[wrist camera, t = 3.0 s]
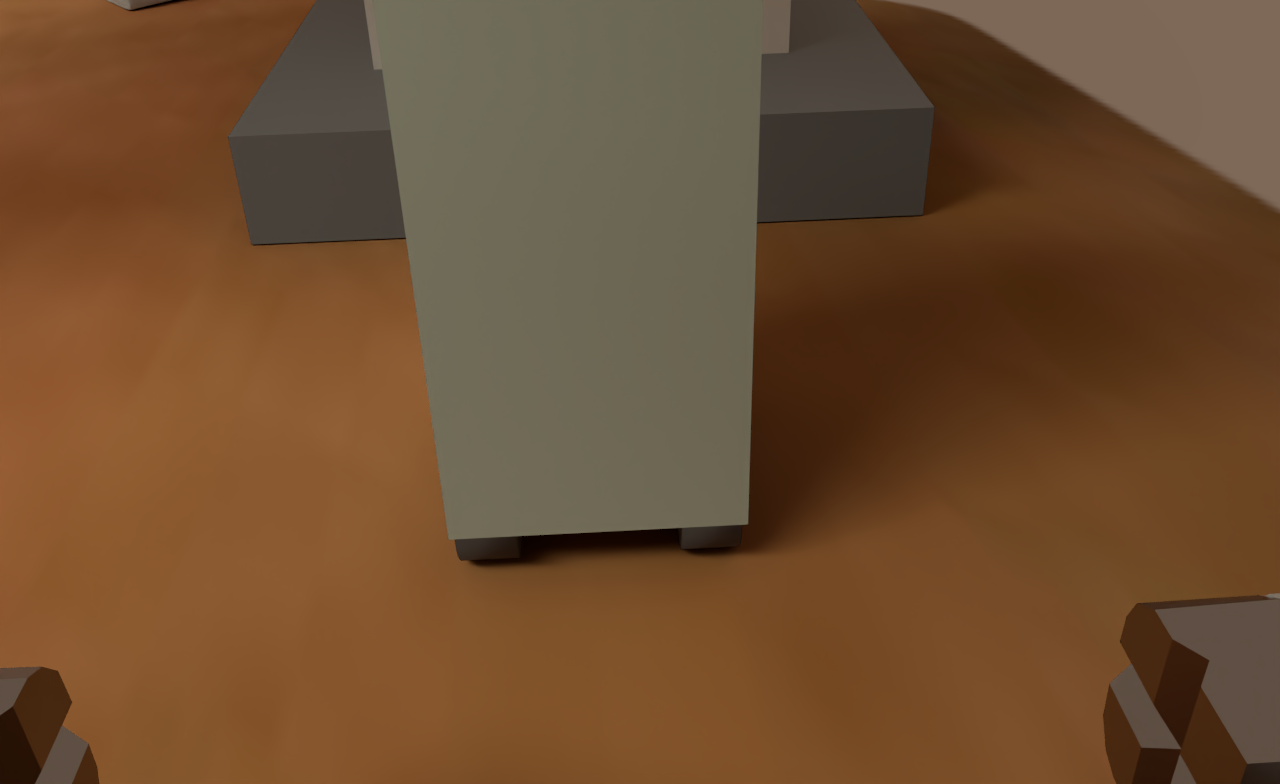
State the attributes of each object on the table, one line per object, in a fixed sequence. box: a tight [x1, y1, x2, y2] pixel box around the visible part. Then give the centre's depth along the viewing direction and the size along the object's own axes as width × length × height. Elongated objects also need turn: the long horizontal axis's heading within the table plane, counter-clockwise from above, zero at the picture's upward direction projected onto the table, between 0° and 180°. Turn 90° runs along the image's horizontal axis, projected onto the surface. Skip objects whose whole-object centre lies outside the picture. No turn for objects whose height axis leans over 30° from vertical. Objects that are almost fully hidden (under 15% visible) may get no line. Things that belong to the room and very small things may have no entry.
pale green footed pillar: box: [372, 0, 763, 561], centre depth 20 cm, size 5×6×12 cm
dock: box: [228, 0, 935, 244], centre depth 38 cm, size 18×16×6 cm
